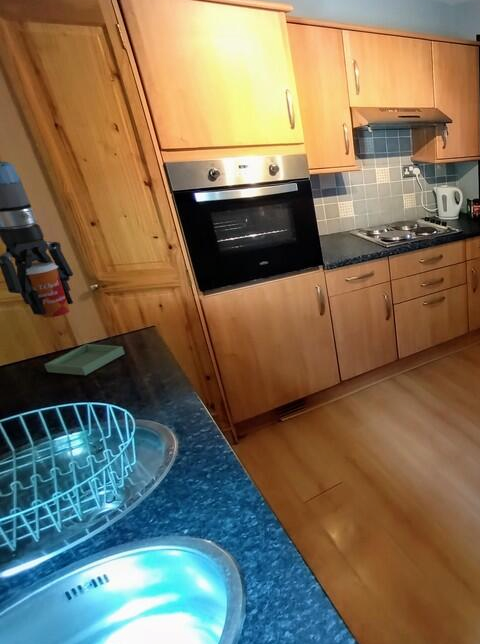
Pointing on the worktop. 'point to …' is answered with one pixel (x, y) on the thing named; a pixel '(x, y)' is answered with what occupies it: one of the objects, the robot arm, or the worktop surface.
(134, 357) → the worktop surface
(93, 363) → the tray
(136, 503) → the worktop surface
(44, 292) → the paper cup
